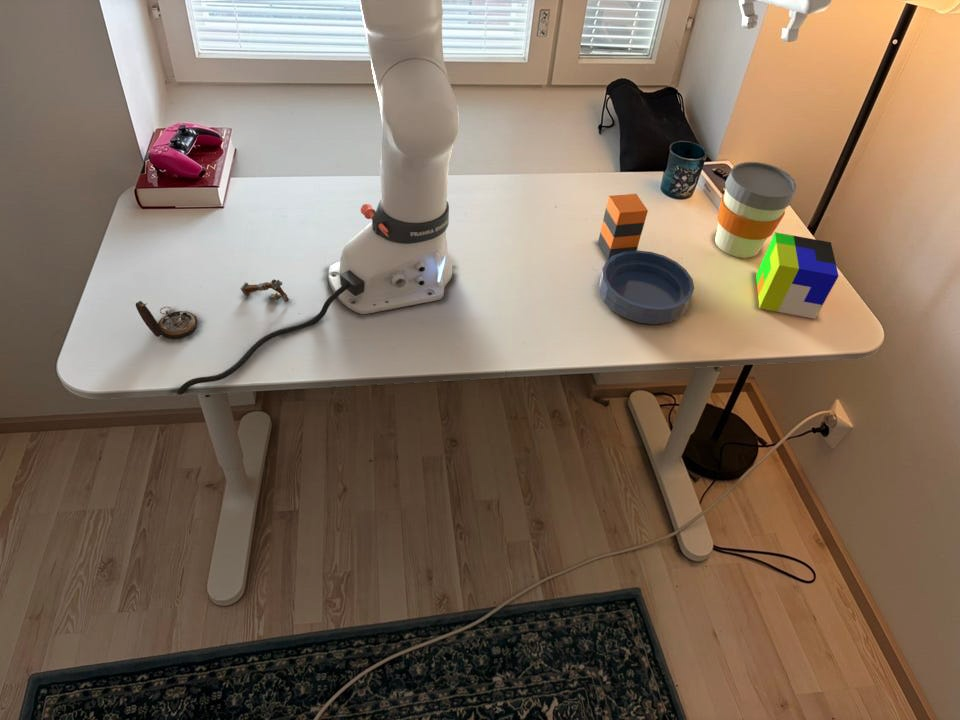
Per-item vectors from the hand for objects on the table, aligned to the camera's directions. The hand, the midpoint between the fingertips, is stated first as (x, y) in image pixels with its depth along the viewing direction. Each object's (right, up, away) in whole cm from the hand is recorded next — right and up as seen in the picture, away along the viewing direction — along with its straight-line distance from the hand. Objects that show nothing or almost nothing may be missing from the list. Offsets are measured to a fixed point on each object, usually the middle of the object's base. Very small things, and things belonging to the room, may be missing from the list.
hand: (768, 33), depth 111 cm
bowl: (-15, -39, +21) cm, 46 cm away
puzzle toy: (+13, -39, +24) cm, 47 cm away
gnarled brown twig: (-81, -40, +13) cm, 91 cm away
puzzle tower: (-18, -29, +30) cm, 45 cm away
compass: (-95, -45, +7) cm, 105 cm away
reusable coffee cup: (+7, -27, +34) cm, 44 cm away
